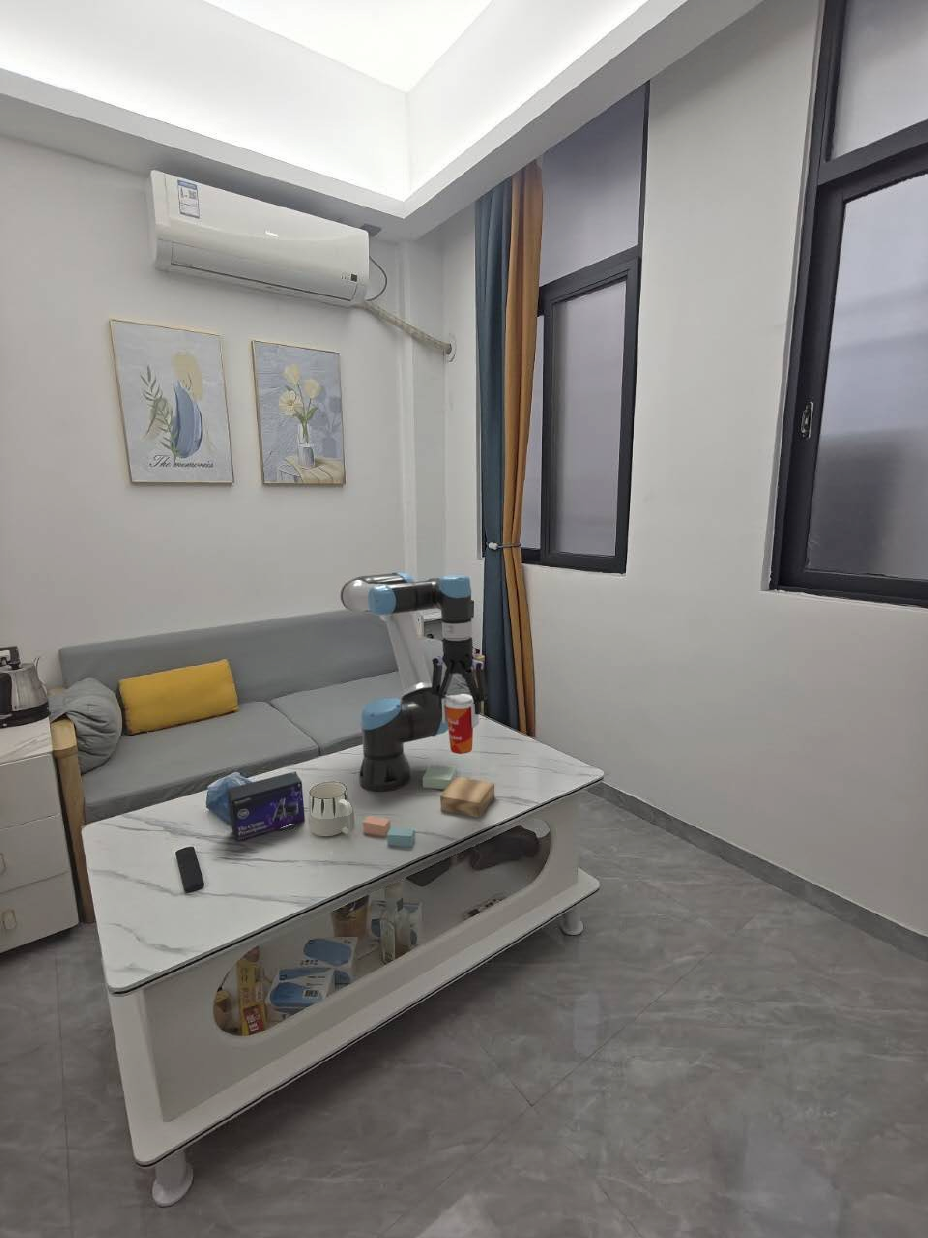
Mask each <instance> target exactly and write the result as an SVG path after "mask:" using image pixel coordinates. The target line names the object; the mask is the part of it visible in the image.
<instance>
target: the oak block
mask: <svg viewBox="0 0 928 1238" xmlns="http://www.w3.org/2000/svg"><path fill="white" fill-rule="evenodd" d="M494 798H495V783H494V782H488V781H484V780H483V781H482V780H477V779H473V778H472V779H471V778H466V777H460V776H457V777H456V779H455V780H454V781H453V782H452V783H451V784H450V785H449V786H448V787H447V788H446V789H444V791H443V792H442V793H441V794H440V795H439V800H440V801H439V802H440V803H439V804H440V805H439V806H440V811H441V810H442V811H445V812H446V811H447V812H451V813H456V814H460V815H461V814H462V815H466V816H471V817H476V818H480V817H481V816H482V814H483V813H484V812H485V810H486V809H487V808H488V806H489V805H490V804H491V802H492V801H493V800H494Z"/></svg>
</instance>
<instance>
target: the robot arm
mask: <svg viewBox="0 0 928 1238" xmlns="http://www.w3.org/2000/svg"><path fill="white" fill-rule="evenodd" d="M340 600H341V601H340V602H341V603H342V606H344V608H345V609H347V610H349V611H351V612H354V613H363V614H365V613H372V615H374V616H378V617H379V619H381V620H382V621H384V622H385V624H386V627H387V630H388V635H389V639H390V641H391V645H392V649H393V653H394V657H395V662H396V665H397V668H398V671H399V676H400V679H401V683H402V687H403V690H404V691H403V694H402V695H401V696H400V697H401V698H400V699H401V700H400V699H399V698H396V697H389V698H388V697H383V698H378V699H376V700H373V701H371V702H369V703H367V704H366V705H365V706H364V707H362V710H361V713H360V727H361V737H362V749H363V752H362V753H363V757H362V762H361V765H360V769H359V773H358V779H359V784H360V786H361V787H362V788H364V789H366V790H368V791H373V792H390V791H394V790H395V791H396V790H398V789H400V788H403V787H404V786H406V785H408V783H409V782H411V780H412V769H411V766H410V764H409V761H408V759H407V756H406V754H405V748H404V745H405V744H404V743H409V742H413V741H417V740H421V739H422V740H423V739H425V738H431V737H436V736H439V735H442V734H445V733H447V732H448V731H449V729H448V719H447V709H446V705H445V702H446V699H447V697H448V696H449V695H448V691H449V687H450V685H451V682H452V679H453V676H454V674H458V675H461V676H462V679H464V680H465V683H466V685H467V686H466V687H468V691H469V693H470V696H472V698H473V702H471V720H472V727H473V729H474V728H476V727H477V726H479V724H480V721H479V720H480V719H479V717H480V714H482V709H483V708H482V702H485V701H486V700H487V699H488V698H489V691H488V686H487V681H486V674H485V664H486V663H485V660H480V661H479V660H477V659H475V658H474V655H473V653H474V652H473V651H474V648H473V646H474V645H473V644H474V643H473V638H472V636H473V622H472V621H473V620H472V588H471V579H470V577H469V576H468V575H465V574H448V575H447V574H446V575H442V576H441V577H440V578H439V577H436V578H435V577H430V578H427V579H425V580H419V581H414V579H413V578H412V576H411V575H409V573H406V572H391V573H385V574H384V573H382V574H373V575H372V574H371V575H362V576H361V575H360V576H358V577H355V578H351V579H350V580H349V581H347V582H346V583H344V585H343V586H342V588H341V590H340ZM436 609H437V610H440V615H441V635H442V637H443V639H442V653H443V654H442V656H440V655H438V656H436V657H434V658H433V659H432V660H431V661H432V665H433V672H432V673H433V674H432V680H431V676H430V673H429V669H428V666H427V661H426V659H425V655H424V651H423V647H422V645H421V641H420V638H419V633H418V631H417V627H416V623H415V620H414V617H413V614H414V612H422V611H428V610H436ZM443 665H445V667H446V669H445V672H444V677H443V680H442V674H443V673H442V672H443ZM472 666H473V668H472ZM472 669H474V670H475V677H474V675H473V674H474V673H473V670H472ZM475 679H476V680H475Z"/></svg>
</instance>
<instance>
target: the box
mask: <svg viewBox="0 0 928 1238" xmlns="http://www.w3.org/2000/svg"><path fill="white" fill-rule="evenodd" d="M302 782H303V780H301V778H300V777H299V775H298V773H297V771H295V770H294V771H291V772H288V773H283V774H279V775H276V776H272V777H269V778H263V779H261V780H256V781H253V782H248V783H245V784H241V785H236V786H233V787H229V788H227V789H226V790H227V791H226V792H227V798H228V806H229V814H230V824H231V831H232V834H233V837H234V839H235V842H236V843H239V842H243V841H246V840H248V839H252V838H256V837H259V836H261V835H262V836H263V835H265V834H268V833H269V834H270V833H271V832H275V831H279V830H281V829H280V828H281V827H283V826H286V825H289V824H295V825H298V824H299V825H300V824H302V823H305V822H306V819H305V806H304V795H303V794H304V793H303V783H302ZM295 825H294V826H295Z"/></svg>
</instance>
